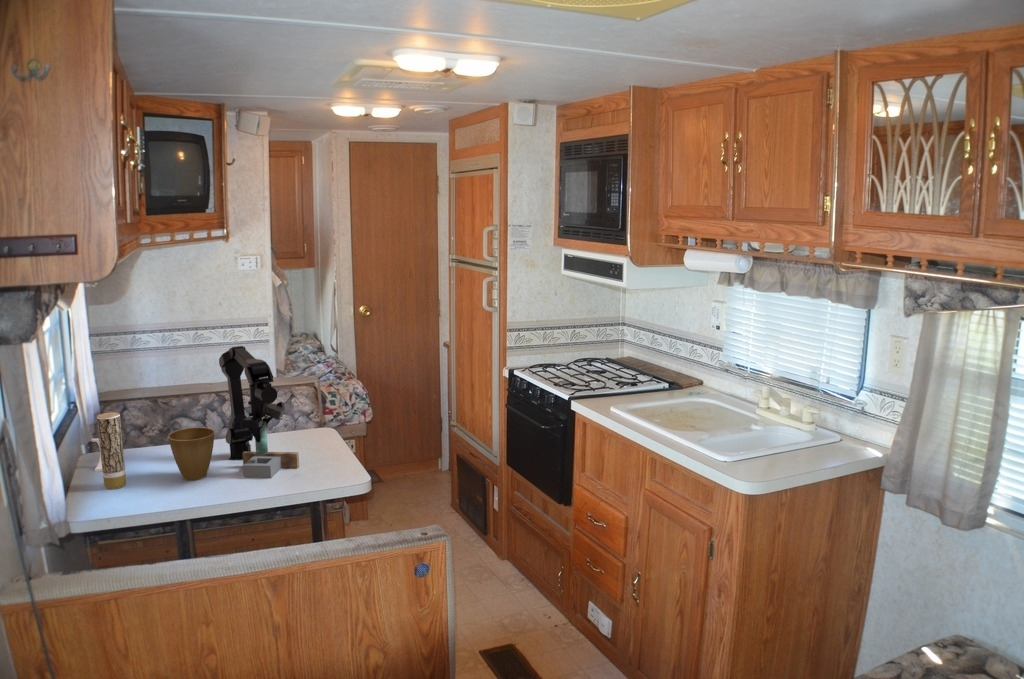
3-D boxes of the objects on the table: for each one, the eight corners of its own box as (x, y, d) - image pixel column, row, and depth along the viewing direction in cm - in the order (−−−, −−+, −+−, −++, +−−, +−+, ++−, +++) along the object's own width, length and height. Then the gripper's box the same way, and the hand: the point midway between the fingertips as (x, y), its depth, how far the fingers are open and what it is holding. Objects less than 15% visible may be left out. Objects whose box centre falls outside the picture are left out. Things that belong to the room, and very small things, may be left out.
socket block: (243, 477, 270) (242, 465, 270) (254, 467, 280) (253, 456, 279) (271, 478, 270) (270, 465, 269) (281, 468, 280) (280, 456, 279)
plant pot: (163, 478, 270) (160, 434, 267) (204, 467, 281) (200, 424, 279) (185, 488, 261) (181, 442, 258) (225, 476, 272) (222, 432, 269)
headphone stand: (94, 471, 277) (91, 439, 275) (102, 466, 283) (99, 434, 281) (107, 471, 278) (104, 439, 276) (115, 465, 284) (112, 434, 281)
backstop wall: (243, 467, 281) (242, 453, 280) (245, 465, 282) (244, 451, 282) (297, 468, 279) (296, 454, 278) (299, 466, 281) (298, 452, 280)
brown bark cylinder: (111, 491, 258) (104, 418, 254) (100, 487, 262) (92, 416, 257) (130, 485, 264) (123, 414, 260) (119, 481, 267) (112, 411, 263)
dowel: (254, 454, 272) (252, 424, 270) (258, 450, 276) (256, 420, 274) (265, 454, 271) (263, 424, 269) (269, 450, 275) (267, 421, 273)
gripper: (271, 405, 260) (273, 449, 263) (290, 391, 278) (292, 432, 281) (239, 404, 261) (241, 448, 264) (260, 390, 279) (262, 432, 282)
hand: (261, 440), depth 273 cm, fingers closed on dowel, 4 cm apart
